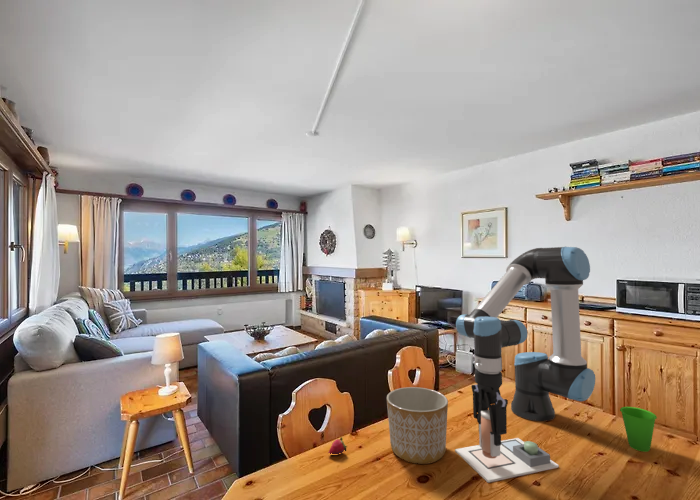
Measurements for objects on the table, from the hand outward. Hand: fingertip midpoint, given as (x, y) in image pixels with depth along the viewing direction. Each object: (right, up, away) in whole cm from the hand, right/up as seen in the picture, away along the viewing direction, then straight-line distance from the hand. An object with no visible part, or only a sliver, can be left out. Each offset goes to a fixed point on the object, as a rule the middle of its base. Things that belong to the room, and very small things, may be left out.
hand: (489, 450), depth 100 cm
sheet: (+6, -5, +4) cm, 8 cm away
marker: (0, -1, 0) cm, 1 cm away
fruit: (-45, -6, +7) cm, 46 cm away
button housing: (+14, -5, +3) cm, 15 cm away
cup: (+51, -4, +9) cm, 52 cm away
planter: (-19, -5, +9) cm, 22 cm away
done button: (+14, -2, +3) cm, 14 cm away
